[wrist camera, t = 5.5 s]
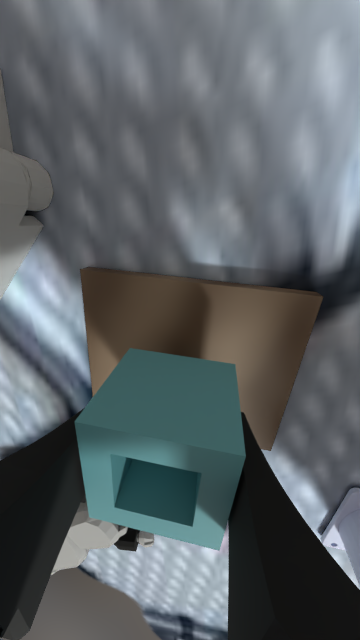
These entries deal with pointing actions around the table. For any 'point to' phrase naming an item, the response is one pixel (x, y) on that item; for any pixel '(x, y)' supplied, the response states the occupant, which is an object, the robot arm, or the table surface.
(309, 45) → the table surface
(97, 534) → the robot toy
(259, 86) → the table surface
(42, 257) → the table surface
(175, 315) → the stub base
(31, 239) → the hinge
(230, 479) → the collar
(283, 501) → the robot arm
